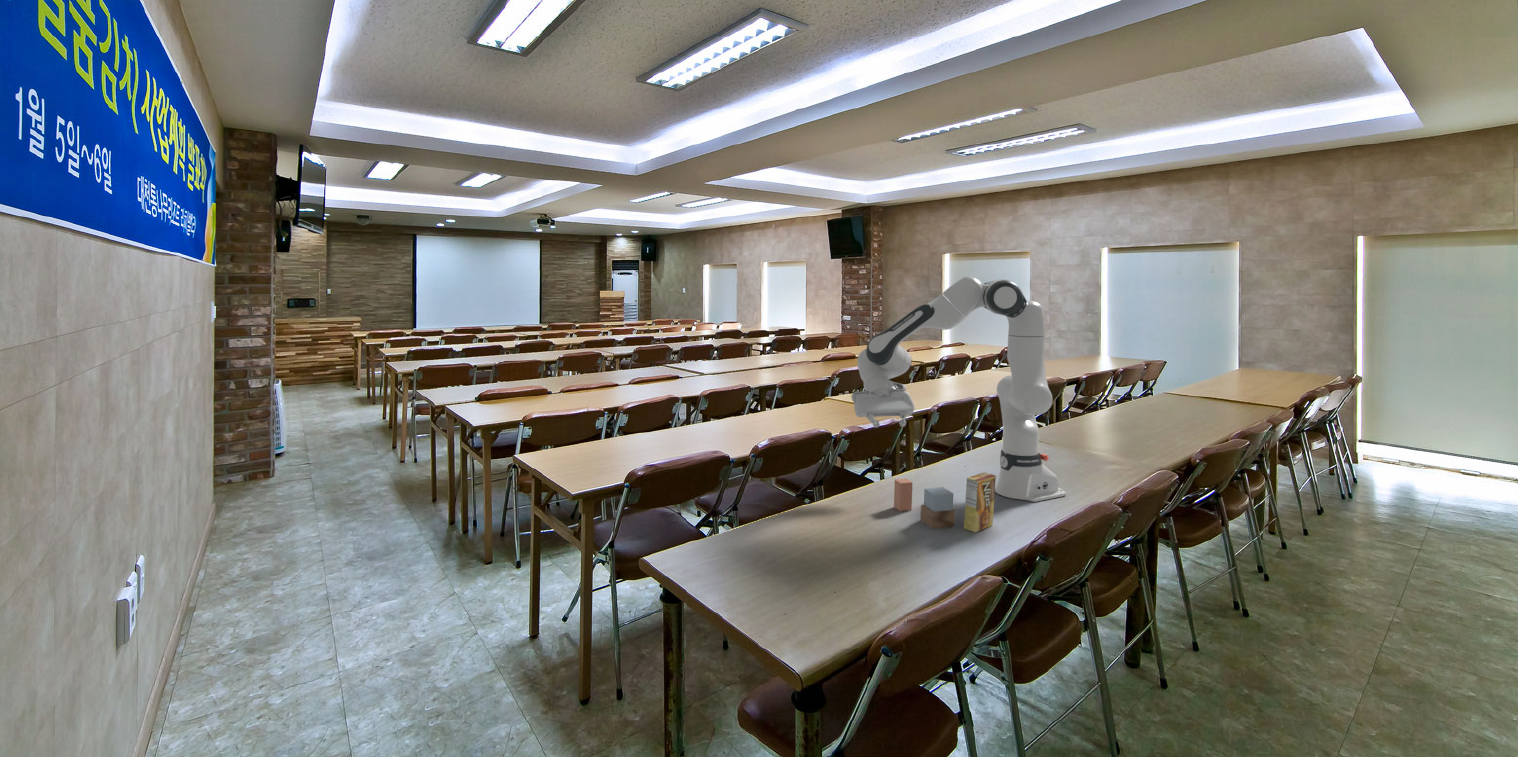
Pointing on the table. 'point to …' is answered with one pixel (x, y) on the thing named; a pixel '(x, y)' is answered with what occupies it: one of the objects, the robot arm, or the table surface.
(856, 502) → the table surface
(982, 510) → the candy box
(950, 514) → the tower base
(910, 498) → the post
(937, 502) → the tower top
